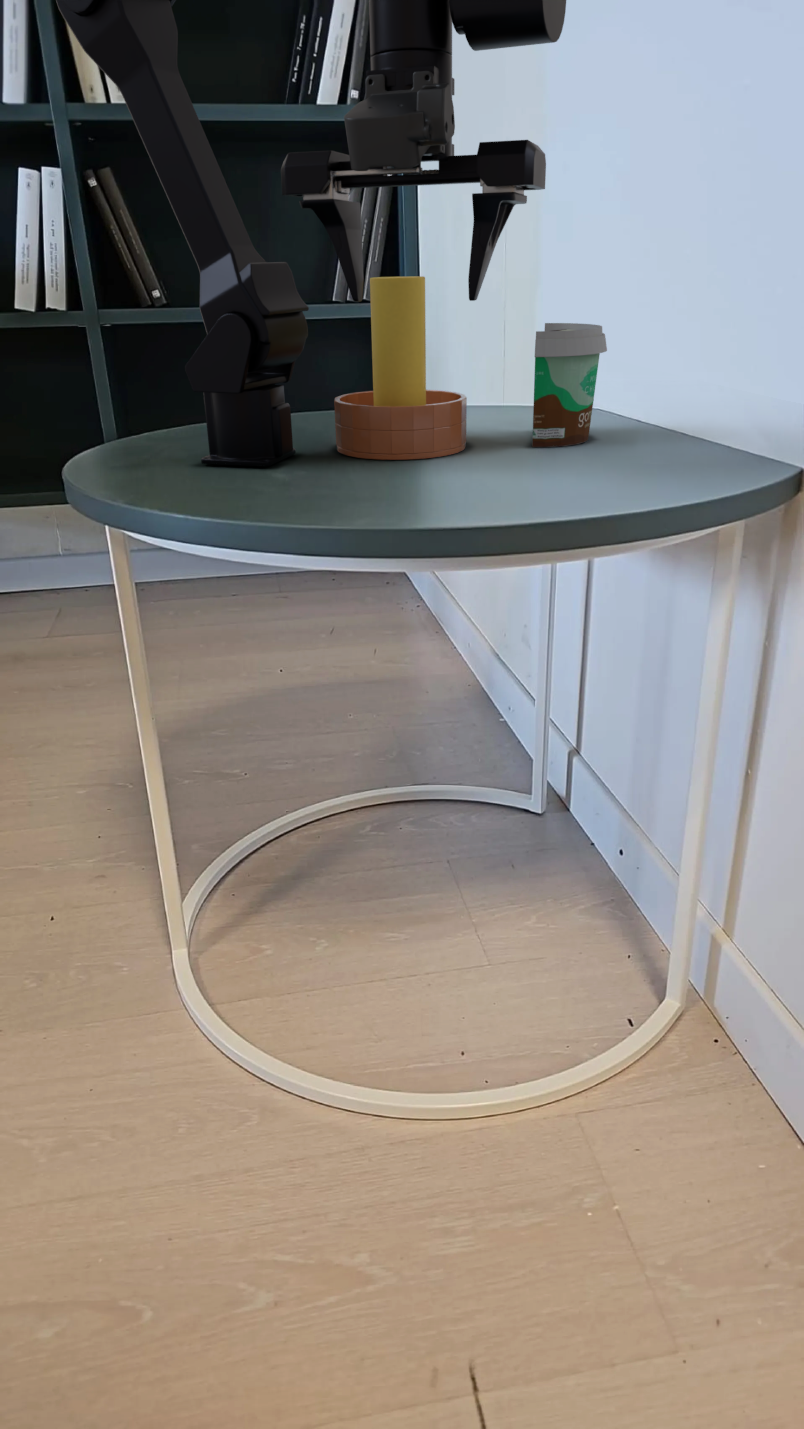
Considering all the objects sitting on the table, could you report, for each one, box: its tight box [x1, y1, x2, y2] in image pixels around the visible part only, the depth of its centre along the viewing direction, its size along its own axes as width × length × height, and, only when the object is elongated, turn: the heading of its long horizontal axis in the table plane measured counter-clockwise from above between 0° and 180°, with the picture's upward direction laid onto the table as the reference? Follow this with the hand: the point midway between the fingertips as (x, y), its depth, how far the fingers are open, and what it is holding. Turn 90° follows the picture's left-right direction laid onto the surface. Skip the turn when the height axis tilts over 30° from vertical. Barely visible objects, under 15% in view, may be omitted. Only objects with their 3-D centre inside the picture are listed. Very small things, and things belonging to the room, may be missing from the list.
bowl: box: [333, 388, 468, 461], centre depth 89 cm, size 12×12×4 cm
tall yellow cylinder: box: [369, 275, 427, 406], centre depth 86 cm, size 5×5×14 cm
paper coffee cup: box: [531, 322, 608, 448], centre depth 90 cm, size 12×6×10 cm, turn 168°
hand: (414, 300), depth 74 cm, fingers open, 9 cm apart
